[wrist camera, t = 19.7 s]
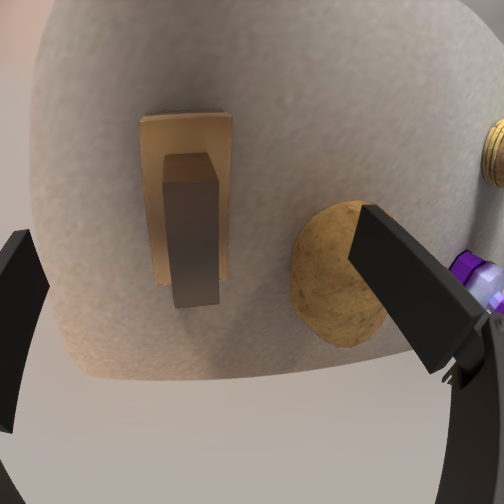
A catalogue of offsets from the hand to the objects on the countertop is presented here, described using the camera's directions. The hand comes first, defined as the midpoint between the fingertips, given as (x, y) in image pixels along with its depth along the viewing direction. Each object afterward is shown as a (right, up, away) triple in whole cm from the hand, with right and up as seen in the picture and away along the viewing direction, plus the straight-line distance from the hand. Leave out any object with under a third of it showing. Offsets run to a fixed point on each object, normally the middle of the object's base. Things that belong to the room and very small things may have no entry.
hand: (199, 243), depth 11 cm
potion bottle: (+31, -2, +24) cm, 40 cm away
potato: (+8, 0, +16) cm, 18 cm away
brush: (-3, +4, +9) cm, 11 cm away
